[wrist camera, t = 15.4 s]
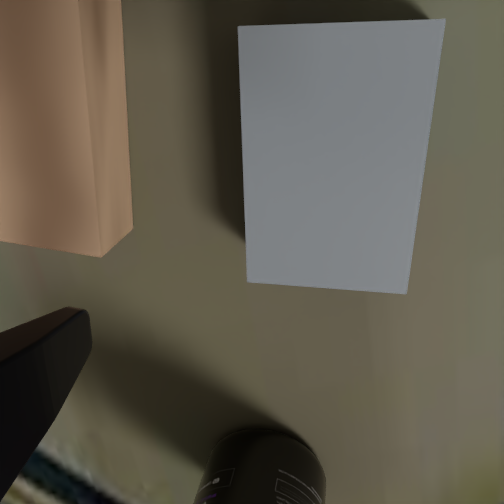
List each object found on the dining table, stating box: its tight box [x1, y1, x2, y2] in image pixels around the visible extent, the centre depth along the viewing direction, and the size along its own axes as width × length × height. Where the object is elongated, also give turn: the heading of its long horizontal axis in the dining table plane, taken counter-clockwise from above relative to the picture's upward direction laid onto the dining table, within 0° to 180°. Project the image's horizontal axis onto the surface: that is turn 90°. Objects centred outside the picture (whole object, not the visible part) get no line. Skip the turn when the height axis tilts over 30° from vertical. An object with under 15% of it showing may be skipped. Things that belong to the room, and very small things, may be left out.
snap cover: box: [238, 19, 446, 294], centre depth 16 cm, size 6×9×3 cm, turn 2°
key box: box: [0, 0, 133, 257], centre depth 15 cm, size 5×14×6 cm, turn 177°
